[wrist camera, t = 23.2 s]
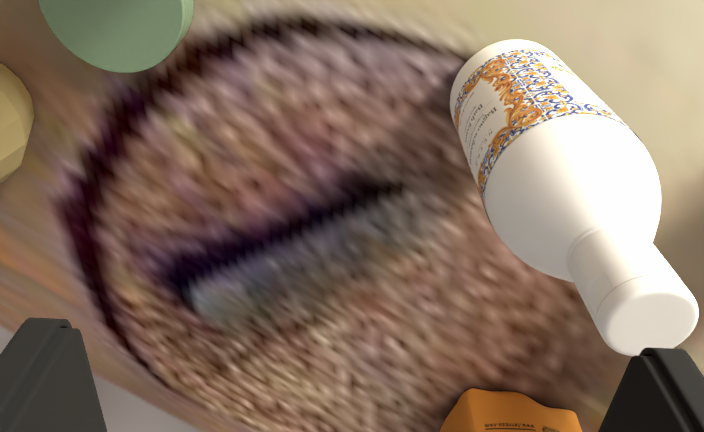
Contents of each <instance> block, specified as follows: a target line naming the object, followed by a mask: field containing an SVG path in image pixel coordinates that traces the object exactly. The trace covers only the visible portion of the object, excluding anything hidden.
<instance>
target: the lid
mask: <svg viewBox="0 0 704 432" xmlns="http://www.w3.org/2000/svg"><path fill="white" fill-rule="evenodd" d="M38 3H39V6H40V9H41V12H42V14H43V16H44V18H45V20H46V22H47V24H48V26H49V27H50V29H51V30H52V32H53V33H54V35H55V36H56V37H57V38H58V40H59V41H60V42H61V43H62V44H63V45H64V46H65V47H66V48H67V49H68V50H69V51H71V52H72V53H73V54H74V55H76V56H77V57H79V58H80V59H82V60H83V61H85V62H87V63H89V64H91V65H93V66H95V67H98V68H100V69H103V70H107V71H111V72H118V73H133V72H140V71H143V70H147V69H149V68H151V67H154V66H155V65H157V64H159V63H160V62H161V61H163V60H164V59H165V58H166V57H167V56H168V55H169V54H170V53H171V52H172V51H173V50H174V49H175V48H176V47H177V46H178V44H179V43H180V42H181V41H182V40H183V38H184V37H185V35H186V34H187V32H188V29H189V27H190V25H191V21H192V17H193V10H194V0H38Z"/></svg>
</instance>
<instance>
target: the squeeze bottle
mask: <svg viewBox="0 0 704 432" xmlns="http://www.w3.org/2000/svg"><path fill="white" fill-rule="evenodd" d="M34 116H35V113H34V108H33V103H32V99H31V96H30V94H29V93H28V91H27V90H26V88H25V86H24V85H23V83H22V82H21V80H20V79H19V78H18V77H17V76H16V75H15V74H14V73H12V72H11V71H10V70H9V69H8V68H7V67H5V66H4V65H3V64H1V63H0V183H2V182H3V181H5V180H6V179H7V178H8V177H9V176H10V175H11V174H12V173H13V172H14V171H15V170H16V169H17V168H18V167H19V166H20V165H21V162H22V159H23V155H24V152H25V149H26V145H27V142H28V138H29V135H30V132H31V128H32V124H33V120H34Z"/></svg>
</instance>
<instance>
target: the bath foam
mask: <svg viewBox="0 0 704 432" xmlns="http://www.w3.org/2000/svg"><path fill="white" fill-rule="evenodd" d="M450 110H451V116H452V119H453V122H454V125H455V128H456V131H457V134H458V137H459V140H460V142H461V145H462V148H463V151H464V153H465V156H466V159H467V161H468V164H469V167H470V170H471V172H472V175H473V178H474V181H475V183H476V186H477V189H478V192H479V194H480V197H481V200H482V202H483V205H484V208H485V211H486V213H487V216H488V219H489V221H490V223H491V225H492V226H493V228H494V229H495V231H496V233H497V234H498V236H499V237H500V239H501V240H502V241H503V242H504V244H505V245H506V246H507V247H508V248H509V249H510V250H511V251H512V252H513V253H514V254H515V255H516V256H517V257H518V258H519V259H521V260H522V261H523V262H525V263H526V264H527V265H529V266H531V267H533V268H534V269H536V270H538V271H540V272H542V273H545V274H547V275H550V276H553V277H556V278H559V279H562V280H566V281H570V282H574V284H575V286H576V288H577V290H578V292H579V294H580V296H581V298H582V300H583V302H584V304H585V306H586V308H587V309H588V311H589V313H590V315H591V317H592V319H593V321H594V323H595V325H596V327H597V329H598V331H599V333H600V335H601V337H602V338H603V340H604V341H605V342H606V344H607V345H608V346H609V347H610V348H612V349H613V350H615V351H616V352H618V353H621V354H624V355H628V356H635V355H638V356H639V354H640V353H641V351H642V350H643V349H644V348H646V347H651V348H674V347H675V346H677V345H678V344H680V343H681V342H683V341H684V340H685V339H686V338H687V337H688V336H689V335H690V334H691V332H692V331H693V329H694V328H695V326H696V323H697V321H698V317H699V309H698V305H697V302H696V300H695V298H694V296H693V295H692V294H691V292H690V291H689V290H688V288H687V287H686V286H685V284H684V283H683V282H682V280H681V279H680V278H679V277H678V275H677V274H676V273H675V271H674V270H673V269H672V267H671V266H670V265H669V264H668V262H667V261H666V260H665V258H664V257H663V256H662V254H661V253H660V252H659V251H658V249H657V248H656V247H655V246H654V244H653V240H654V237H655V233H656V230H657V227H658V223H659V218H660V212H661V189H660V182H659V178H658V174H657V171H656V168H655V166H654V163H653V161H652V159H651V157H650V155H649V153H648V152H647V150H646V148H645V147H644V145H643V144H642V142H641V140H640V139H639V138H638V136H637V135H636V134H635V133H634V132H633V131H632V130H631V129H630V128H629V127H628V126H627V125H626V124H625V123H624V122H623V121H622V120H621V119H620V118H619V117H618V116H617V115H616V114H615V113H614V112H613V111H612V110H611V109H610V108H609V107H608V106H607V105H606V104H605V103H604V102H603V101H602V100H601V99H600V98H599V97H598V96H597V95H596V94H595V93H594V92H593V91H592V90H591V89H590V88H589V87H588V86H587V85H586V84H585V83H583V82H582V81H581V80H580V79H579V78H578V77H577V76H576V75H575V74H574V73H573V72H572V71H571V70H570V69H569V68H568V67H567V66H566V65H565V64H564V63H563V62H562V61H561V60H560V59H559V58H558V57H557V56H556V55H555V54H554V53H552V52H551V51H550V50H549V49H547V48H546V47H544V46H542V45H540V44H538V43H535V42H532V41H527V40H506V41H501V42H497V43H494V44H492V45H489V46H487V47H485V48H484V49H482V50H480V51H479V52H477V53H476V54H475V55H474V56H472V57H471V58H470V59H469V60H468V61H467V62H466V63H465V65H464V66H463V67H462V68H461V70H460V71H459V73H458V75H457V77H456V79H455V81H454V83H453V86H452V90H451V95H450Z"/></svg>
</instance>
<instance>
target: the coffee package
mask: <svg viewBox="0 0 704 432" xmlns="http://www.w3.org/2000/svg"><path fill="white" fill-rule="evenodd" d="M439 432H582V430H581V427H580V425H579V422H578V419H577V416H576V413H574V412H573V411H571V410H564V409H559V408H548V407H545V406H542V405H541V404H539V403H537V402H536V401H534V400H532V399H531V398H529V397H527V396H526V395H523V394H521V393H517V392H506V391H485V390H480V389H469V390H467V391H465V392H464V393H463V394H462V395H461V397H460V398H459V400H458V402H457V404H456V405H455V406H454V408H453V409H452V410H451V412H450V413H449V415H448V416H447V417H446V419H445V421H444V423H443V425H442V427H441V430H440V431H439Z"/></svg>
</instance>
